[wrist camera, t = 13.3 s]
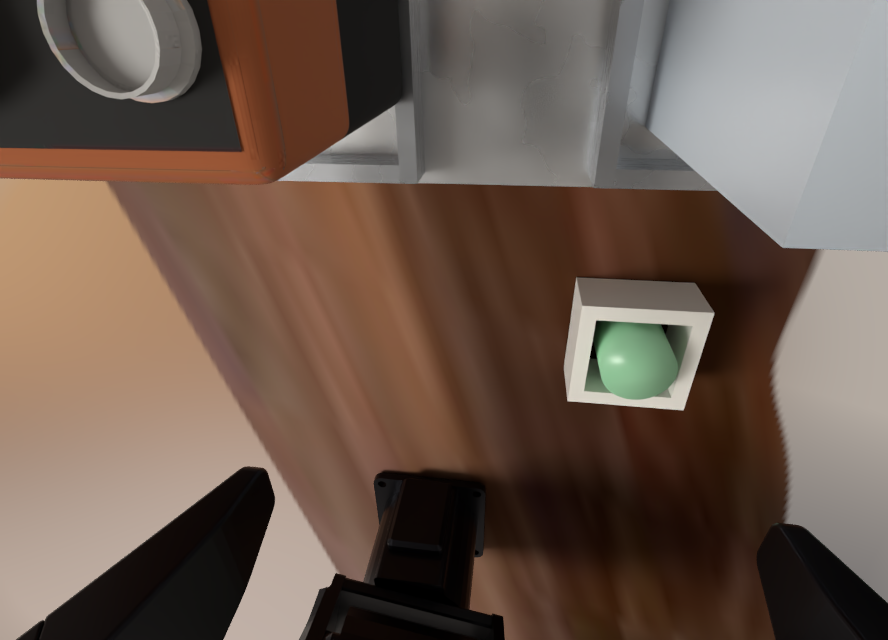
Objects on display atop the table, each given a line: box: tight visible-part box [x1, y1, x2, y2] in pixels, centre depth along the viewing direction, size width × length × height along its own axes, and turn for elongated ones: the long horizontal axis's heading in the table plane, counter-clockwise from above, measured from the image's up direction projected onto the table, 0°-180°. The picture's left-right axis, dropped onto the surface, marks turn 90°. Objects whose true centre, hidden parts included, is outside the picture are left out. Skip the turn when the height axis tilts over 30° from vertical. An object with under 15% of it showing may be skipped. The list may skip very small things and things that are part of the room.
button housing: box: [564, 277, 714, 410], centre depth 20 cm, size 5×5×2 cm
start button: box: [593, 320, 678, 400], centre depth 20 cm, size 3×3×3 cm
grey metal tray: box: [277, 0, 717, 191], centre depth 14 cm, size 11×21×3 cm, turn 91°
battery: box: [0, 0, 402, 185], centre depth 10 cm, size 4×7×10 cm, turn 91°
